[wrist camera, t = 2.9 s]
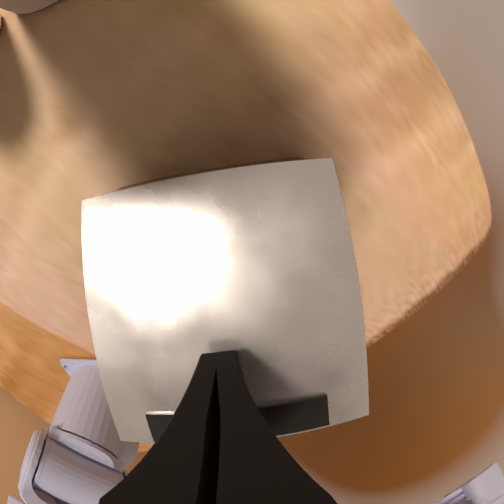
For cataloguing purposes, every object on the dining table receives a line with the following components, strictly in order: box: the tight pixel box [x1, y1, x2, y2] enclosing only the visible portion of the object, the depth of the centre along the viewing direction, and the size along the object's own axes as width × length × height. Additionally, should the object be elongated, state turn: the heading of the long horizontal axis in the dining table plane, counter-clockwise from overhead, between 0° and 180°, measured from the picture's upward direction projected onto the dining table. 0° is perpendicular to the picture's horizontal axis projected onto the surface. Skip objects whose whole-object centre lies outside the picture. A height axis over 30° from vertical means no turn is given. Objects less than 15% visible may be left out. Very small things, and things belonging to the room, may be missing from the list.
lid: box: [82, 158, 369, 444], centre depth 11 cm, size 12×12×1 cm
